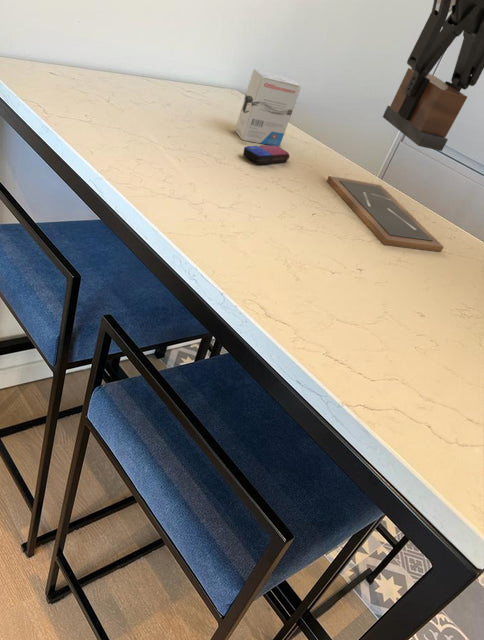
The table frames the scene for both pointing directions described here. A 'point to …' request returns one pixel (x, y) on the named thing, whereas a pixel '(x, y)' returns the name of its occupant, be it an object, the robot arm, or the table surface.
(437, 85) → the duster
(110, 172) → the table surface
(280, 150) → the eraser
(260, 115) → the ink box
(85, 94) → the table surface
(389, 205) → the board
